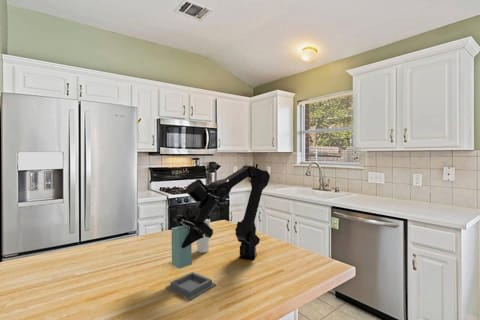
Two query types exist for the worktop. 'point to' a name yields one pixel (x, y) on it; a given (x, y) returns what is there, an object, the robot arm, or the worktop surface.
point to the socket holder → (191, 285)
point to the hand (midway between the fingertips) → (178, 245)
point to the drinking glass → (203, 241)
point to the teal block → (179, 254)
